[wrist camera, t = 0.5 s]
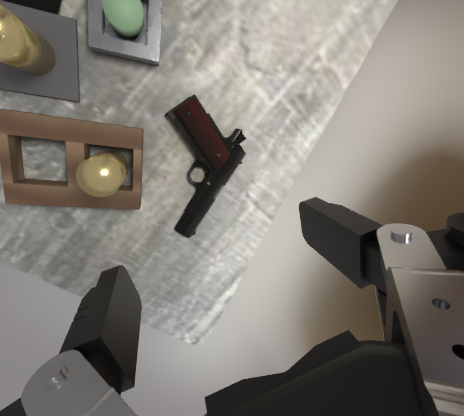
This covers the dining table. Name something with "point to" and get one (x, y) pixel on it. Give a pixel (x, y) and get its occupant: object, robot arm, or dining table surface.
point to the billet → (24, 45)
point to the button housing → (129, 47)
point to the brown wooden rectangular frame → (77, 150)
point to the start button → (125, 16)
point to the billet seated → (103, 173)
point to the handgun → (205, 159)
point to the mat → (66, 51)
